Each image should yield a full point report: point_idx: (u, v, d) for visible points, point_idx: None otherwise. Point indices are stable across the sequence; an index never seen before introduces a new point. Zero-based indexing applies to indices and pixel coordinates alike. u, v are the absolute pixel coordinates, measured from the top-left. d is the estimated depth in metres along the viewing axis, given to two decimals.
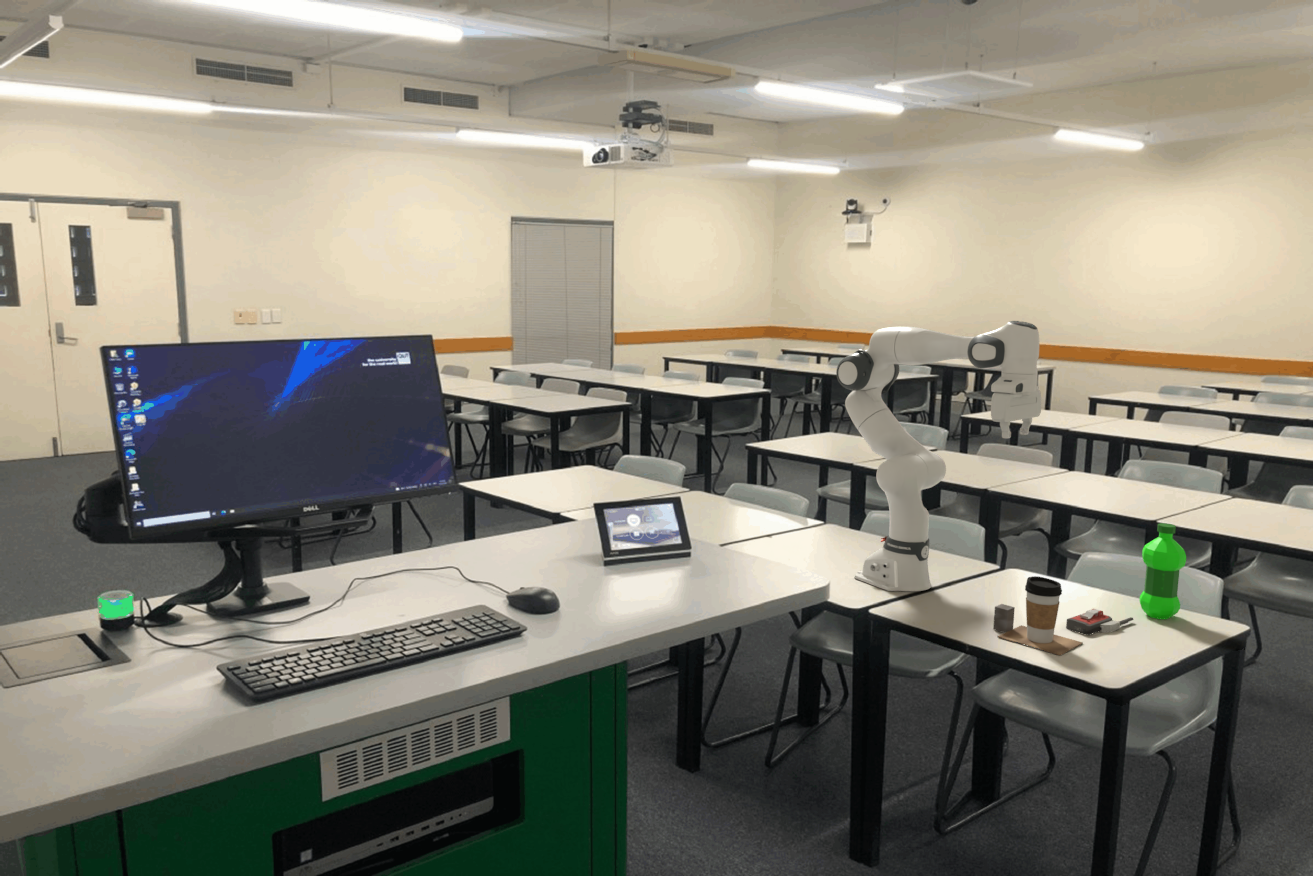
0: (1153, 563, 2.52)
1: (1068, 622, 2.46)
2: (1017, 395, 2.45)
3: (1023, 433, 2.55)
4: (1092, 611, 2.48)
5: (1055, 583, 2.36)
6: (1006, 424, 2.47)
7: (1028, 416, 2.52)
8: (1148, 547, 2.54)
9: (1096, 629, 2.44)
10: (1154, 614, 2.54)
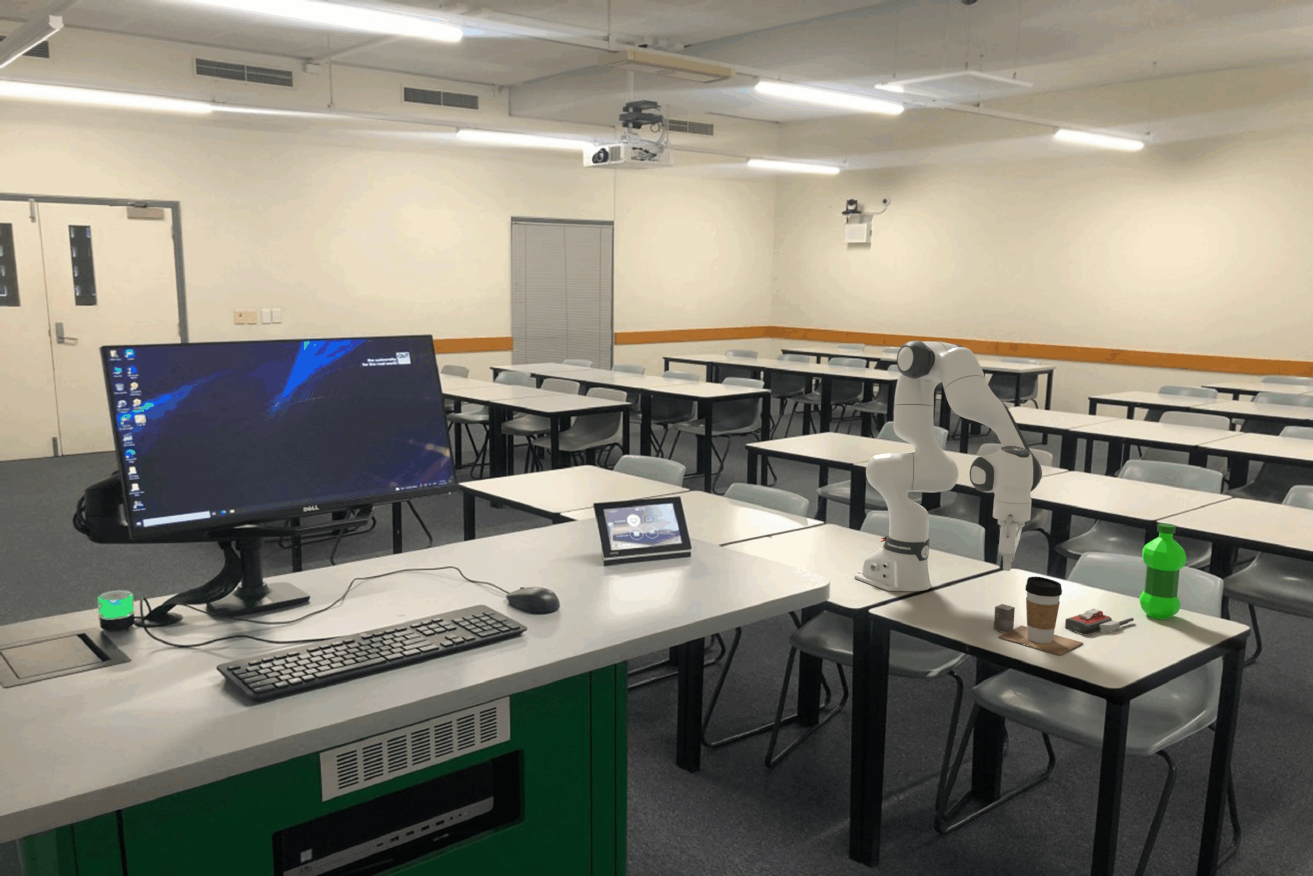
0: (1153, 563, 2.52)
1: (1067, 622, 2.47)
2: None
3: None
4: (1091, 611, 2.48)
5: (1055, 583, 2.36)
6: None
7: None
8: (1148, 547, 2.54)
9: (1095, 629, 2.44)
10: (1154, 614, 2.54)
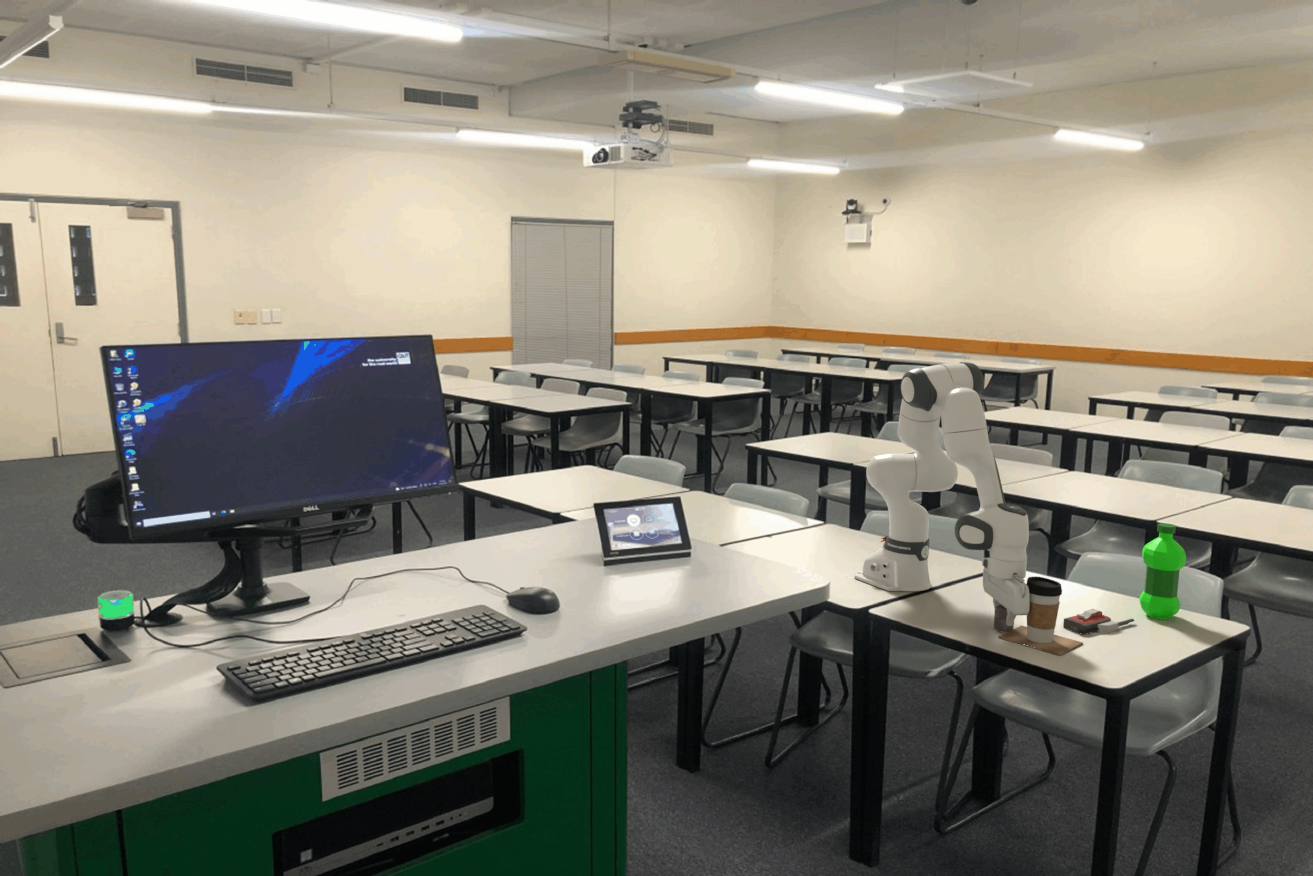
0: (1153, 563, 2.52)
1: (1065, 622, 2.47)
2: (987, 570, 2.48)
3: None
4: (1090, 611, 2.48)
5: (1055, 583, 2.36)
6: None
7: (1003, 604, 2.41)
8: (1148, 547, 2.54)
9: (1092, 629, 2.44)
10: (1154, 614, 2.54)
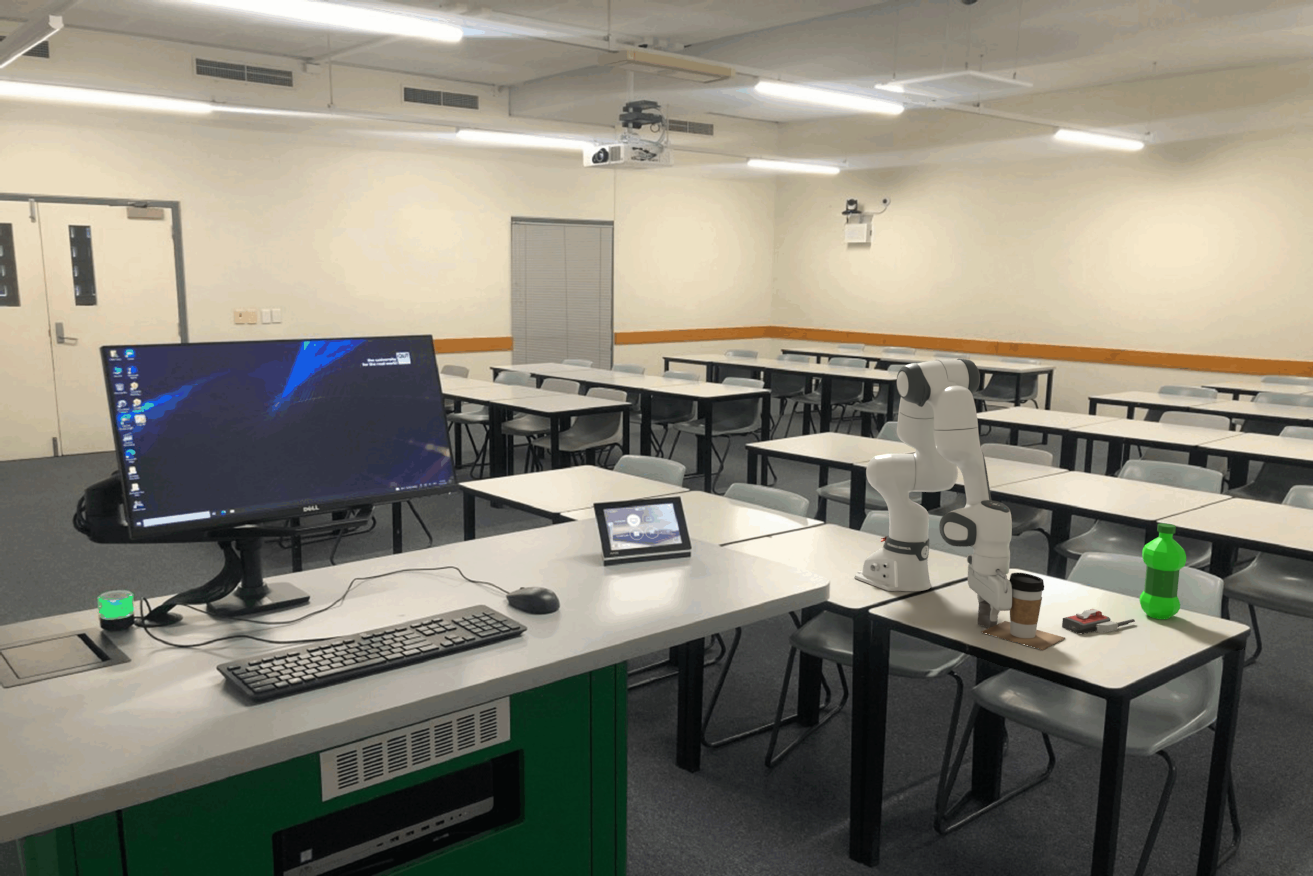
0: (1153, 563, 2.52)
1: (1063, 621, 2.47)
2: (971, 567, 2.52)
3: None
4: (1090, 611, 2.48)
5: (1038, 579, 2.40)
6: None
7: (986, 600, 2.44)
8: (1148, 547, 2.54)
9: (1091, 629, 2.44)
10: (1154, 614, 2.54)
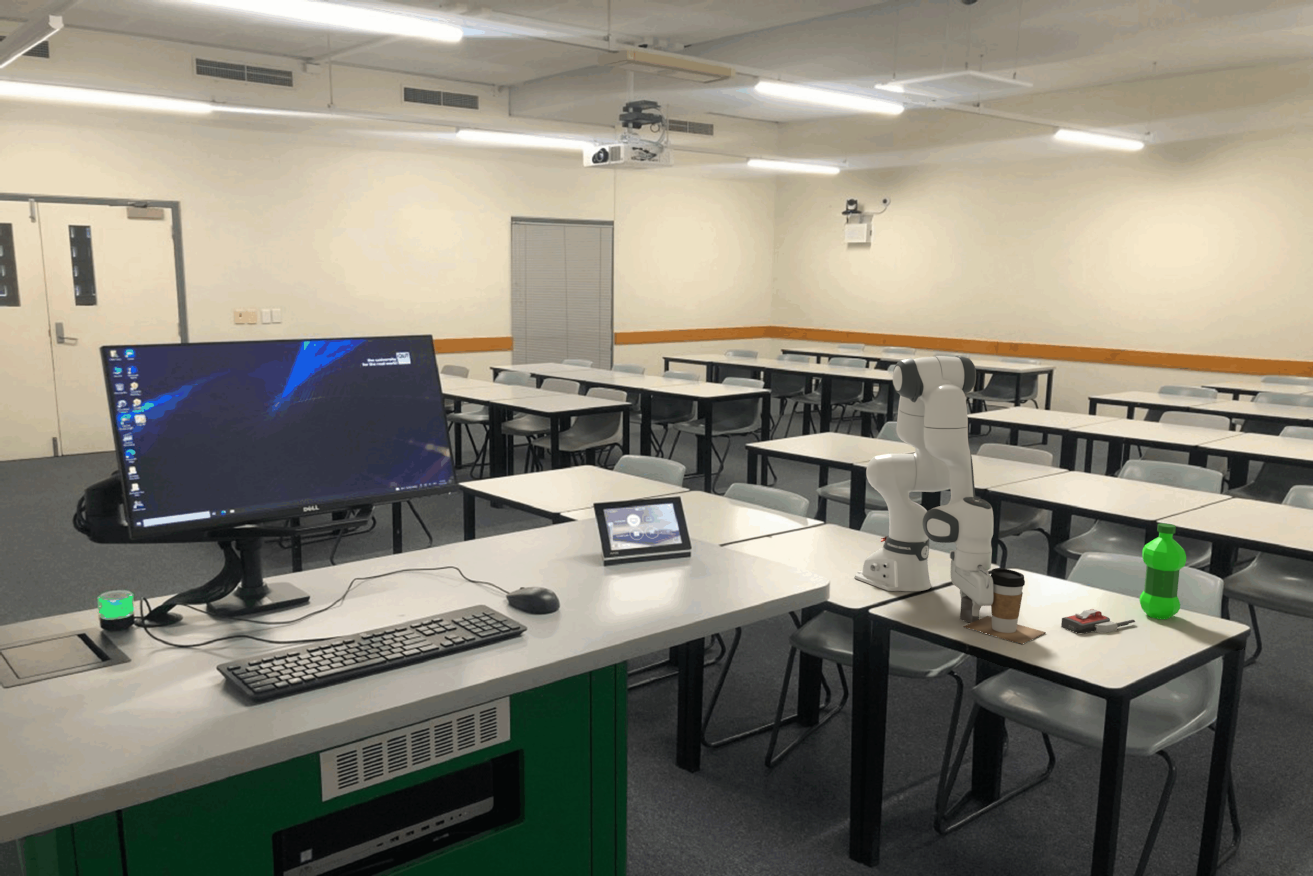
0: (1153, 563, 2.52)
1: (1062, 621, 2.48)
2: (954, 563, 2.55)
3: None
4: (1089, 611, 2.48)
5: (1019, 574, 2.43)
6: None
7: (968, 595, 2.48)
8: (1148, 547, 2.54)
9: (1090, 629, 2.44)
10: (1154, 614, 2.54)
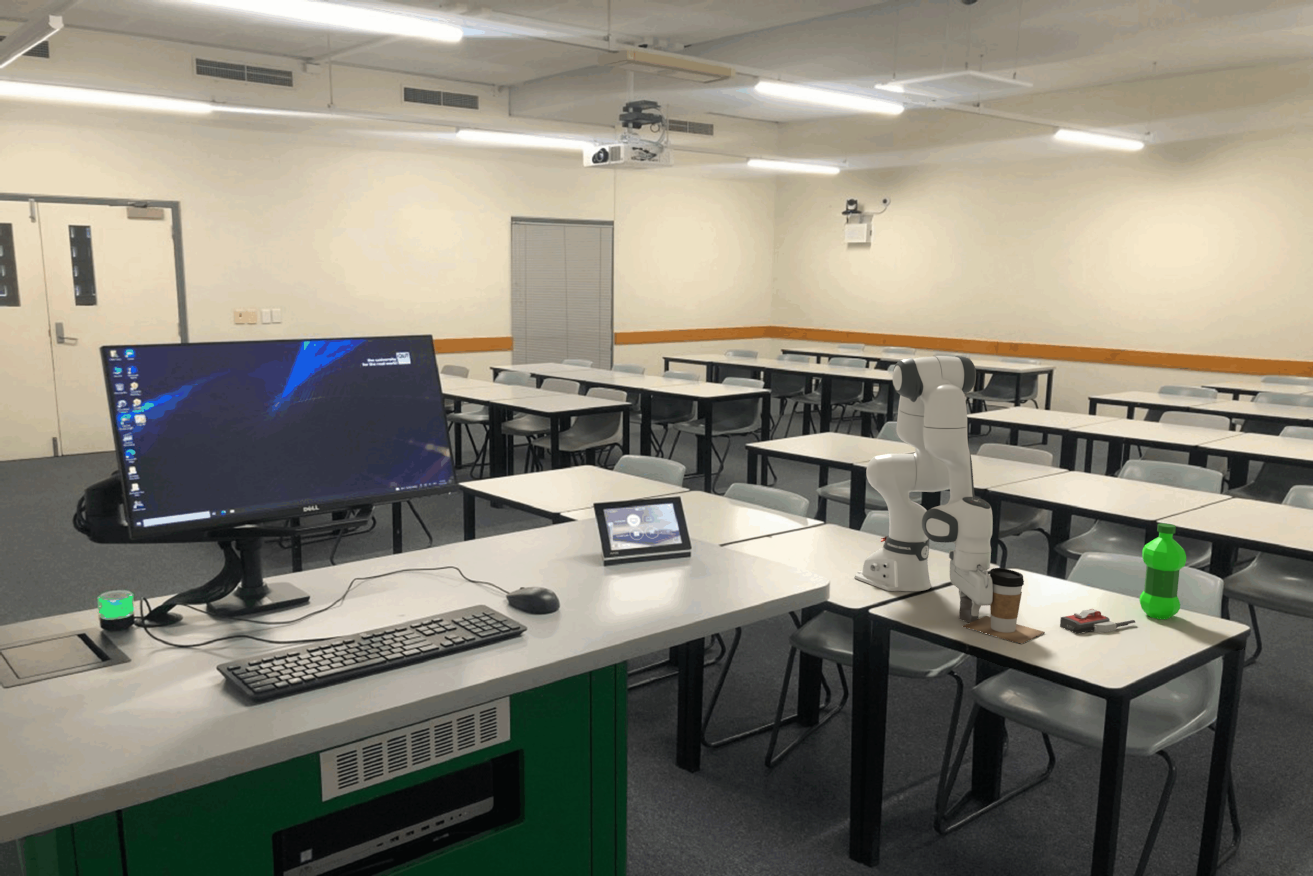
0: (1153, 563, 2.52)
1: (1061, 620, 2.48)
2: (953, 562, 2.56)
3: None
4: (1088, 611, 2.48)
5: (1018, 574, 2.44)
6: None
7: (968, 595, 2.48)
8: (1148, 547, 2.54)
9: (1088, 628, 2.44)
10: (1154, 614, 2.54)
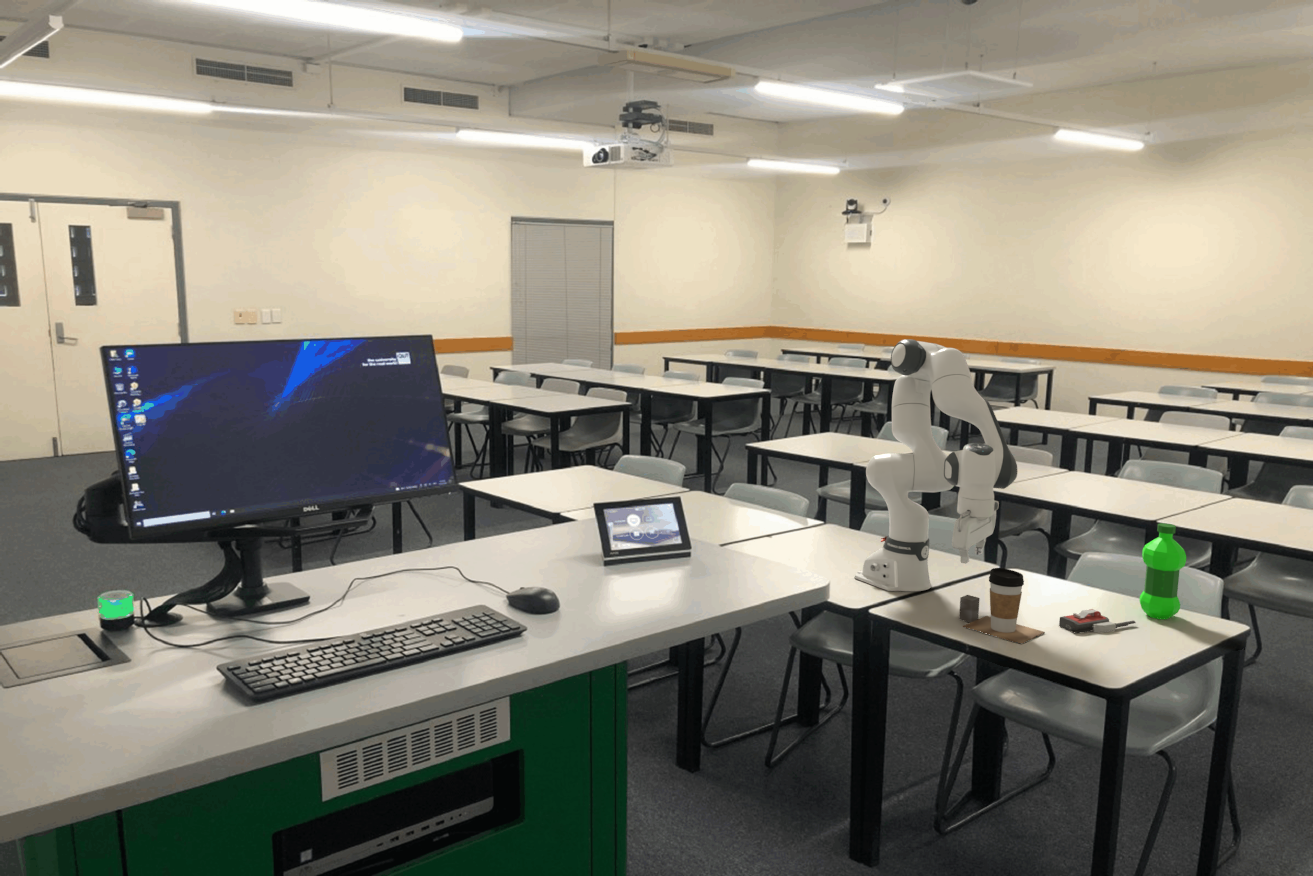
0: (1153, 563, 2.52)
1: (1060, 620, 2.48)
2: None
3: None
4: (1088, 611, 2.48)
5: (1018, 574, 2.44)
6: None
7: None
8: (1148, 547, 2.54)
9: (1087, 628, 2.44)
10: (1154, 614, 2.54)
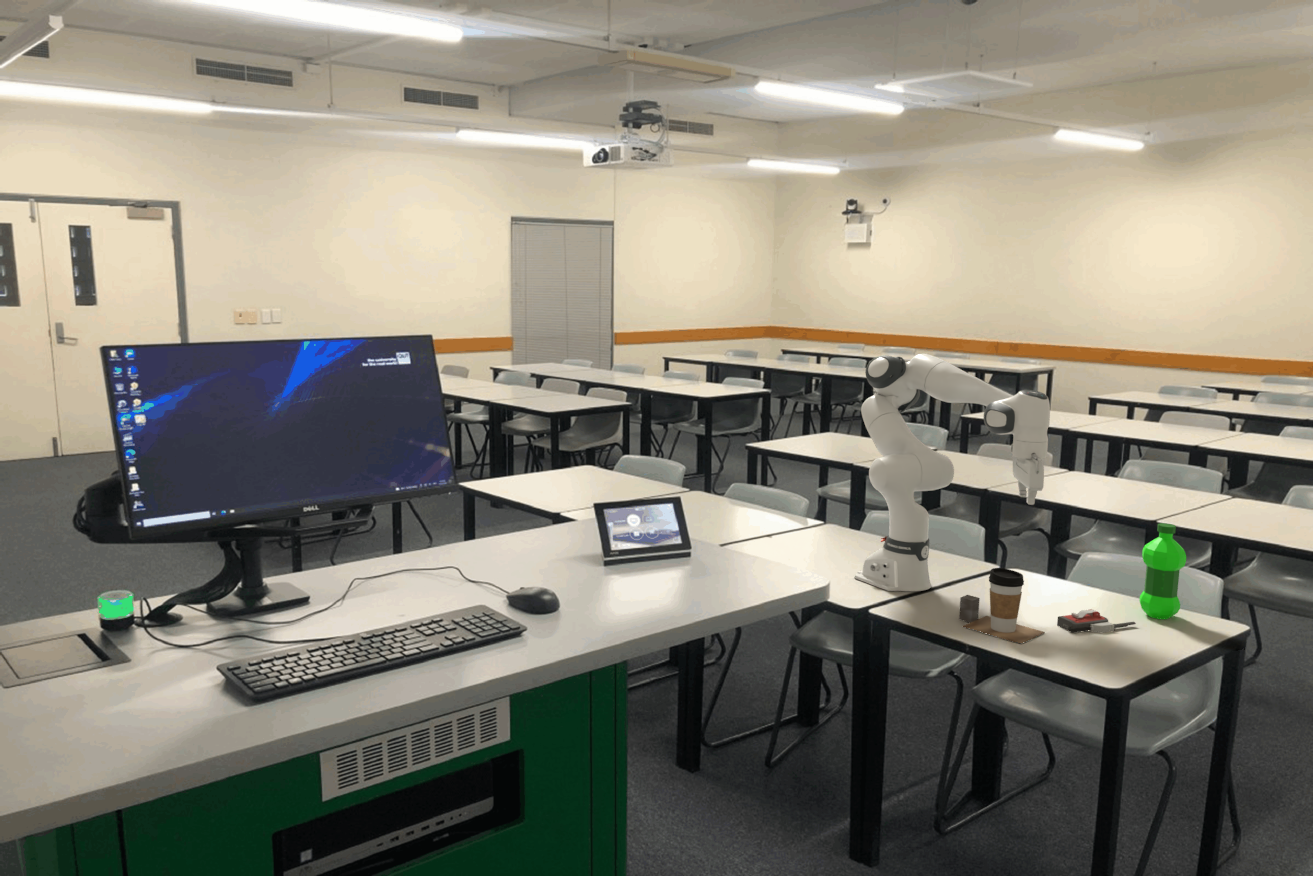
0: (1153, 563, 2.52)
1: (1058, 619, 2.49)
2: None
3: None
4: (1086, 611, 2.49)
5: (1018, 574, 2.44)
6: None
7: (1023, 483, 2.59)
8: (1148, 547, 2.54)
9: (1084, 628, 2.44)
10: (1154, 614, 2.54)
